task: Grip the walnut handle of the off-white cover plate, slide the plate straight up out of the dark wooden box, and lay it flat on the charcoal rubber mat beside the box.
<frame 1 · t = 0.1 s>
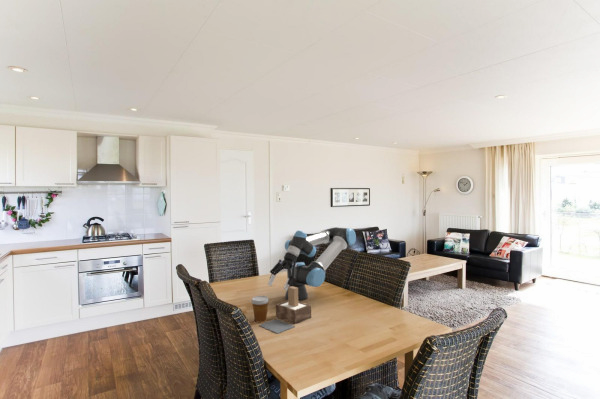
hand: (276, 287, 191), 15 cm above the table, tool tilted 35°, fingers open, 13 cm apart
disposable coffee cup: (260, 320, 183), on the table
cover plate: (293, 307, 186), point 5 cm above the table, touching wooden box
wooden box: (293, 317, 186), on the table
rubber mat: (276, 326, 173), on the table
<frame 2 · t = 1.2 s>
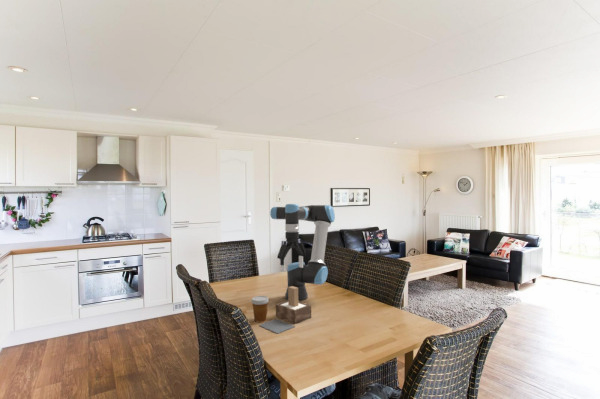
hand: (292, 269, 186), 27 cm above the table, tool pointing down, fingers open, 13 cm apart
nothing on the table moved.
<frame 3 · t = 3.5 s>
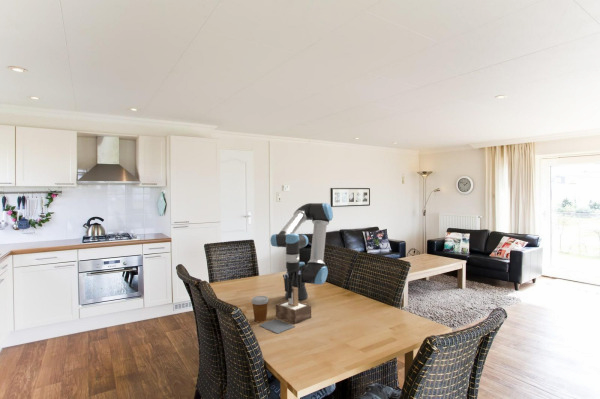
hand: (293, 302, 186), 8 cm above the table, tool pointing down, fingers closed on cover plate, 3 cm apart
cover plate: (293, 307, 186), point 6 cm above the table, touching gripper
everything else where it was.
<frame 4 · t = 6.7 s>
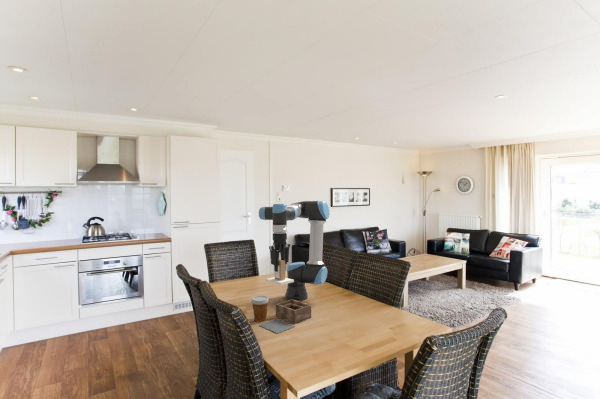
hand: (279, 276, 176), 25 cm above the table, tool pointing down, fingers closed on cover plate, 3 cm apart
cover plate: (279, 281, 176), point 23 cm above the table, touching gripper
everything else where it was.
when the fingers open (5 cm above the table, at t = 9.6 s): cover plate drops 2 cm, resting on rubber mat.
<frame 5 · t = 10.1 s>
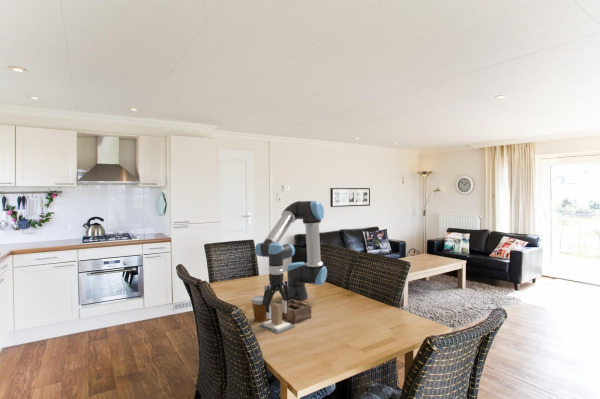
hand: (276, 315, 173), 6 cm above the table, tool pointing down, fingers open, 10 cm apart
cover plate: (276, 325, 173), resting on rubber mat
everything else where it was.
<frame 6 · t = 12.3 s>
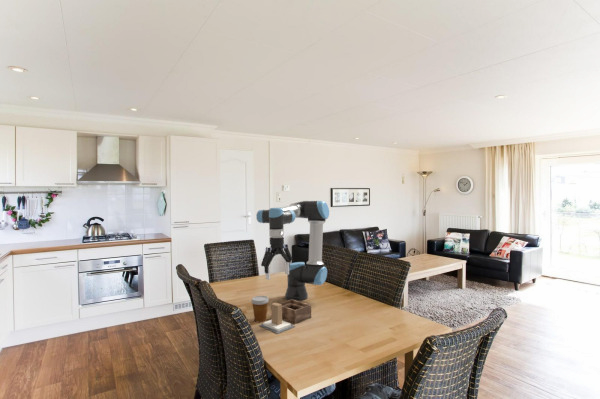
hand: (277, 276, 176), 25 cm above the table, tool pointing down, fingers open, 13 cm apart
nothing on the table moved.
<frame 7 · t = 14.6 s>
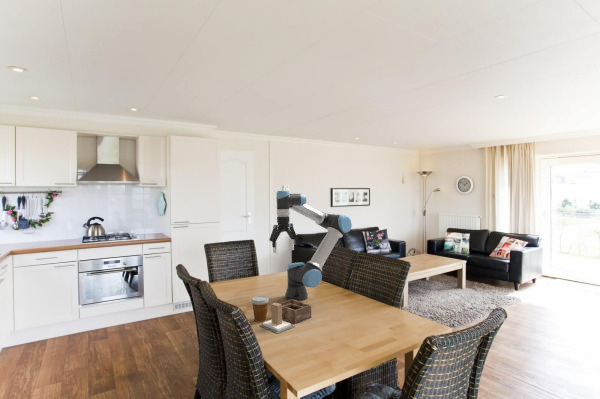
hand: (283, 251, 200), 35 cm above the table, tool pointing down, fingers open, 13 cm apart
nothing on the table moved.
at the end: cover plate inside the target area on the rubber mat (0.1 cm from its centre), point 0.4 cm above the rubber mat's base; cover plate tilted 0°; the gripper is holding nothing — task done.
